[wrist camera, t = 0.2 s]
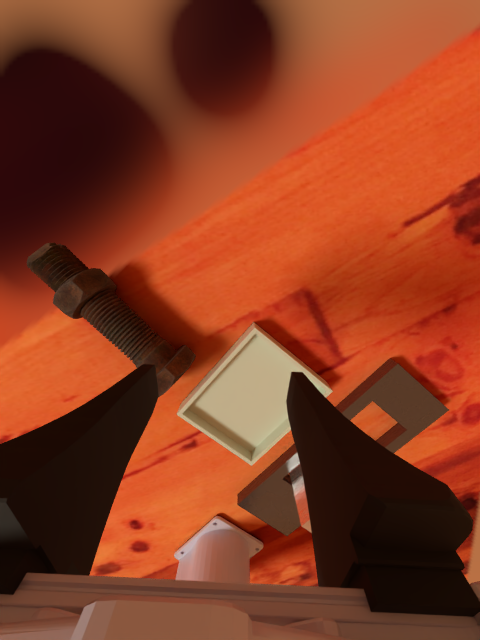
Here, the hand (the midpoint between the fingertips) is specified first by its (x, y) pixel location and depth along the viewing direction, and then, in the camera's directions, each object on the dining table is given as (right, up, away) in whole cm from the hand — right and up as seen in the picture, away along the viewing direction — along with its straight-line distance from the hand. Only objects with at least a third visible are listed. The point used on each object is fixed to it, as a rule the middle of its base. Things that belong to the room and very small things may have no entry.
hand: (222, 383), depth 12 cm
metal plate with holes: (+11, -12, +14) cm, 22 cm away
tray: (+2, -4, +12) cm, 13 cm away
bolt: (-10, +4, +10) cm, 15 cm away
